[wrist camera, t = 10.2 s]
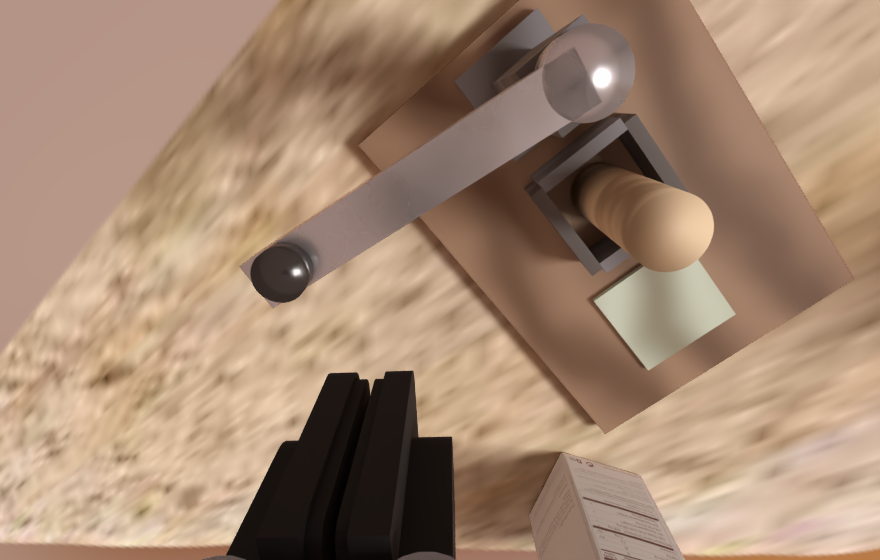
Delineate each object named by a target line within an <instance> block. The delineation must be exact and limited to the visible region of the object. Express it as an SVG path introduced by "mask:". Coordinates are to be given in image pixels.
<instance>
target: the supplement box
mask: <svg viewBox="0 0 880 560" xmlns="http://www.w3.org/2000/svg"><path fill="white" fill-rule="evenodd" d="M529 518H530V523H531V527H532V533H533V538H534V542H535V547H536V552H537V557H538V560H685V558H684V557H683V555H682V553H681V551H680V549H679V547H678V545H677V543H676V542H675V540H674V538H673V536H672V534H671V532H670V530H669V528H668V526H667V525H666V523H665V521H664V519H663V517H662V515H661V513H660V511H659V509H658V507H657V505H656V503H655V502H654V500H653V498H652V496H651V494H650V492H649V490H648V488H647V486H646V485H645V483H644V481H643V479H642V477H641V476H639V475H636V474H633V473H630V472H627V471H624V470H620V469H618V468H614V467H611V466H607V465H604V464H601V463H598V462H594V461H591V460H588V459H584V458H581V457H578V456H574V455H571V454H567V453H561V454H560V456H559V458H558V460H557V462H556V464H555V466H554V467H553V469H552V471H551V473H550V475H549V477H548V479H547V481H546V483H545V485H544V487H543V489H542V491H541V493H540V495H539V497H538V499H537V501H536V503H535V505H534V507H533V509H532V511H531V513H530V515H529Z"/></svg>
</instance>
